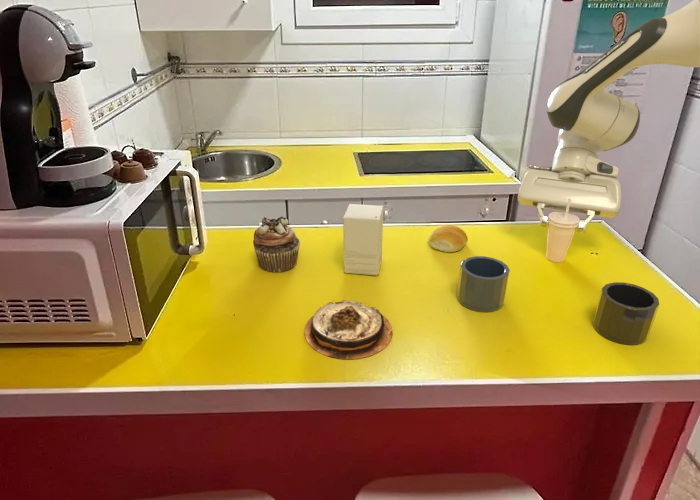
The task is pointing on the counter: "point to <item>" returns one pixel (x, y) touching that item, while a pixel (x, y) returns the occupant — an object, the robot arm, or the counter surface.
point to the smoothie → (560, 233)
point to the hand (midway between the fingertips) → (561, 228)
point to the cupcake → (276, 245)
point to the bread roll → (448, 238)
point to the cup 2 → (625, 313)
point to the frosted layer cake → (348, 330)
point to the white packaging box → (363, 239)
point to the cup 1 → (482, 283)
